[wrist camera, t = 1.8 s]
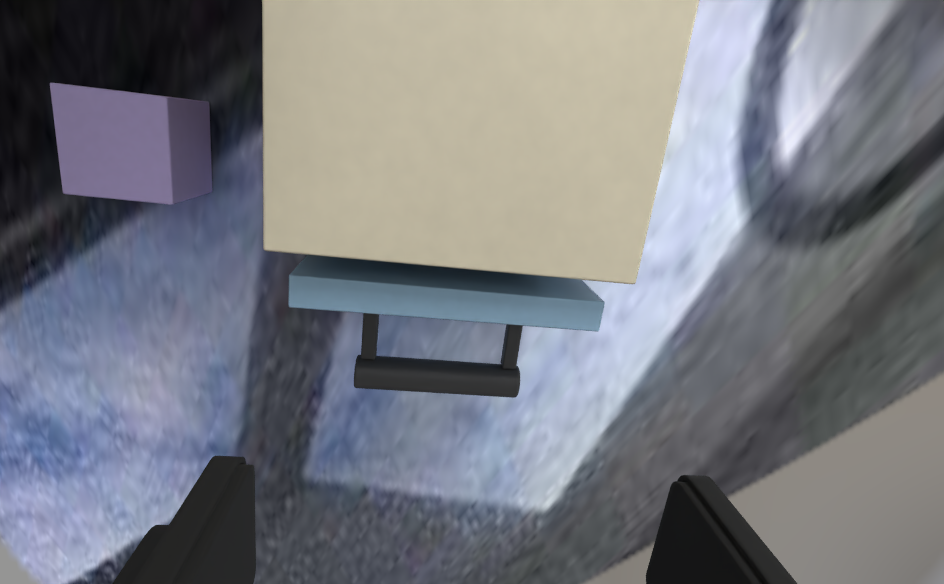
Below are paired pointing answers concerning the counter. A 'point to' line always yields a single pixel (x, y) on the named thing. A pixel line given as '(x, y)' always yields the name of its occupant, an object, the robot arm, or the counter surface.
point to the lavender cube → (131, 144)
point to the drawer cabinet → (470, 130)
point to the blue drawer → (441, 315)
